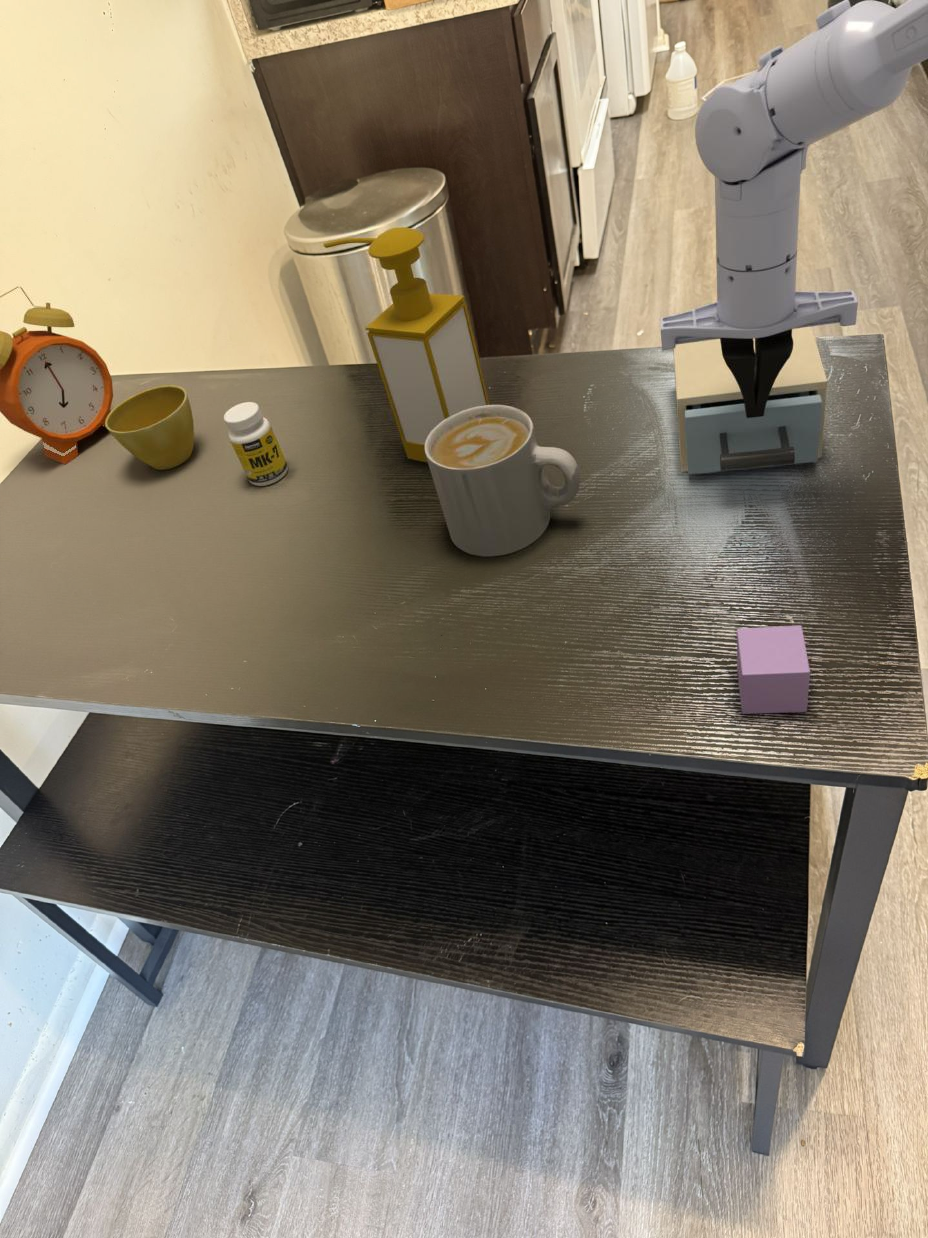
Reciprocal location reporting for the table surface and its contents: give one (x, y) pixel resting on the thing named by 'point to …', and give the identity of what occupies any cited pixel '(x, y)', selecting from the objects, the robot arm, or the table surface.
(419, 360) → the soap bottle
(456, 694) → the table surface
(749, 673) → the block
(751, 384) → the robot arm
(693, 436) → the drawer
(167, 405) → the flower pot
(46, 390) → the alarm clock
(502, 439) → the coffee mug
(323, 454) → the table surface
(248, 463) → the supplement bottle
